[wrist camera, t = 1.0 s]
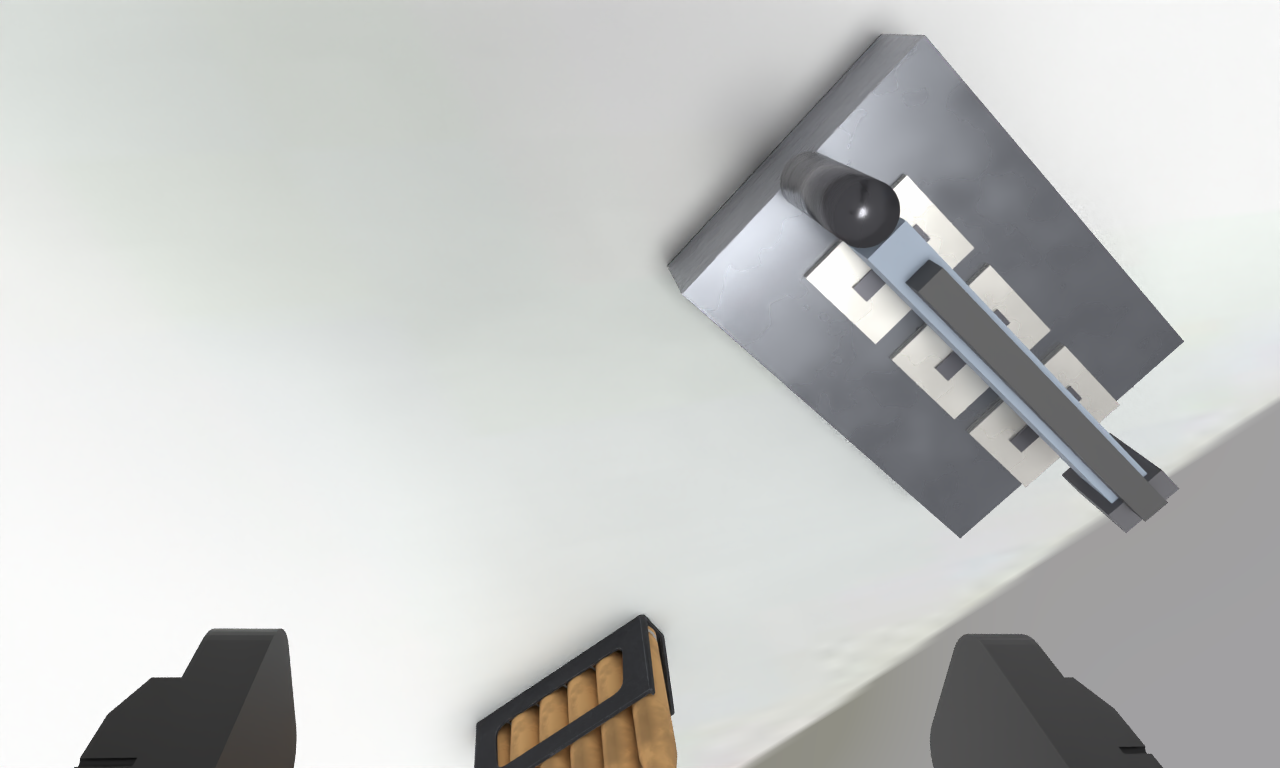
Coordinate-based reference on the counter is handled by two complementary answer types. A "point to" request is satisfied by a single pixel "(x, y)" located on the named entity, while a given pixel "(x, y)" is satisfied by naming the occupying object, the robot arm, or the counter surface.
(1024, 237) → the grey block
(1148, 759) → the robot arm
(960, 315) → the bar
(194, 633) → the counter surface
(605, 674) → the ammunition clip
